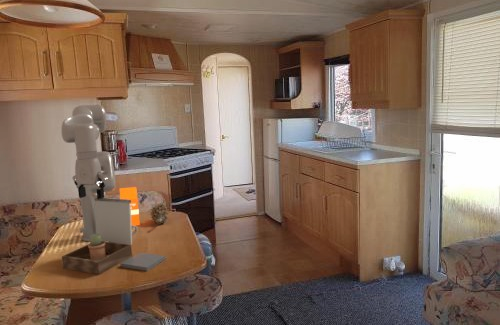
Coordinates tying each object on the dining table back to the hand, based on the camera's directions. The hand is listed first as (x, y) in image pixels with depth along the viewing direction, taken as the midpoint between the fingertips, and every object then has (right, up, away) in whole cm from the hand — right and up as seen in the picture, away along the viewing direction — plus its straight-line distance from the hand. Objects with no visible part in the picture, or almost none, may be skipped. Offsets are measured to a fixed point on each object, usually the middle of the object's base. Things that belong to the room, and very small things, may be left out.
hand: (91, 197), depth 164 cm
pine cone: (+16, -19, +53) cm, 58 cm away
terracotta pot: (+1, -27, +5) cm, 28 cm away
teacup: (+5, -24, +26) cm, 35 cm away
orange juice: (0, -19, +56) cm, 59 cm away
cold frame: (+1, -27, +5) cm, 27 cm away
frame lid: (+4, -11, +11) cm, 16 cm away
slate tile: (+21, -27, +1) cm, 34 cm away
